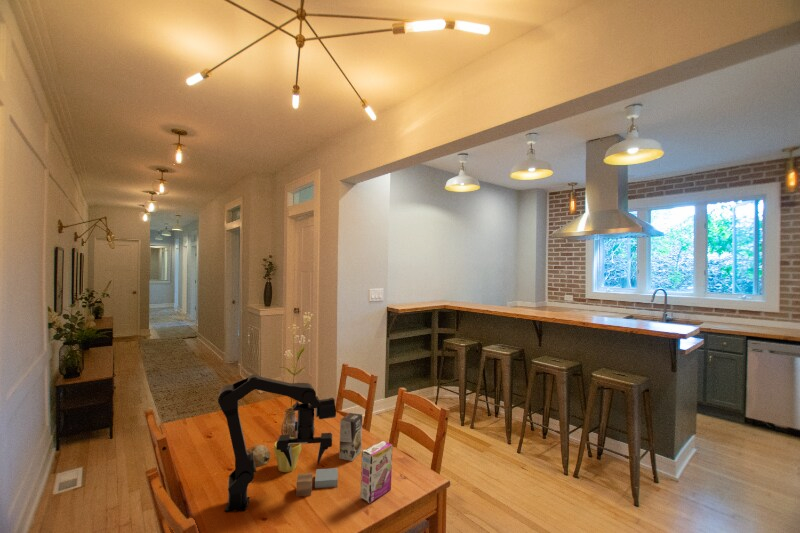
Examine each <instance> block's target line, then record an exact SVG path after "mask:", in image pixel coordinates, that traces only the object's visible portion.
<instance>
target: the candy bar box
mask: <svg viewBox="0 0 800 533" xmlns="http://www.w3.org/2000/svg"><path fill="white" fill-rule="evenodd" d="M392 463H393V444H392V443H389V442H387V441H385V440H382V441H380V442H377V443H375V444H374V445H371V446H369V447H367V448H366V449H363V450H361V468H360V469H361V471H360V473H361V476H360V495H359V496H360V499H361V500H362V501H364V502H366V503H368V504H369V505H370V504H371V503H373V502H374V501H376V500H377V499H380V498H381V497H382V496H384V495H385V494H387V493H388V492H390V491H391V490H392V467H393V466H392V465H393V464H392Z"/></svg>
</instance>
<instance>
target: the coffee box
mask: <svg viewBox="0 0 800 533" xmlns="http://www.w3.org/2000/svg"><path fill="white" fill-rule="evenodd" d="M339 424H340V426H339V427H340V428H339V453H338V459H340V460H345V461H350V462H353V461H354V460H356V458H357V457H358V456H359V455H360V454H362V447H363V446H362V445H363V443H362V440H363V439H362V438H363V435H362V434H363V414H361V413H353V412H349V413H348V414H346V415H345V416H343V417H342V418H341V419H340V423H339Z"/></svg>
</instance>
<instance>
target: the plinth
mask: <svg viewBox="0 0 800 533" xmlns="http://www.w3.org/2000/svg"><path fill="white" fill-rule="evenodd" d="M338 468H339V467H334V468H333V467H332V468H317V469H315V476H314V478H315V479H314V489H320V488H321V489H323V488H324V489H325V488H337V487H338V476H339V475H338V474H339V473H338Z"/></svg>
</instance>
